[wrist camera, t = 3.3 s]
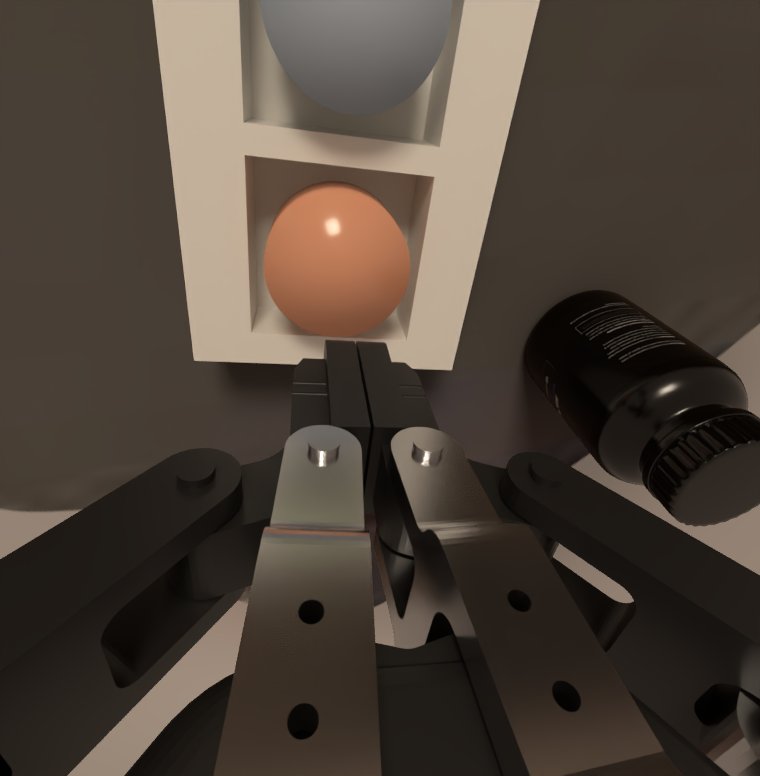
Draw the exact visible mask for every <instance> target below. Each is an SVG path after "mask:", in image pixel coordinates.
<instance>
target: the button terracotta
mask: <svg viewBox="0 0 760 776" xmlns="http://www.w3.org/2000/svg"><path fill="white" fill-rule="evenodd" d="M263 267H264V277H265V281H266V285H267V288H268V291H269V293H270V295H271V297H272V299H273V301H274V303H275V304H276V306H277V307H278V308H279V310H280V311H281V312H282V313H283V314H284V315H285V316H286V317H287V318H288V319H289V320H290V321H292V322H293V323H294V324H296V325H297V326H299V327H301V328H303V329H305V330H307V331H309V332H312V333H314V334H318V335H322V336H328V337H347V336H353V335H357V334H360V333H363V332H366V331H368V330H370V329H372V328H374V327H376V326H377V325H379V324H380V323H382V322H383V321H384V320H385V319H386V318H388V317H389V316H390V315H391V314H392V312H393V311H394V310H395V309H396V308H397V306H398V305H399V303H400V302H401V300H402V298H403V296H404V294H405V291H406V288H407V286H408V281H409V276H410V256H409V250H408V247H407V243H406V240H405V238H404V236H403V234H402V232H401V230H400V229H399V227H398V225H397V224H396V222H395V221H394V219H393V218H392V216H391V215H390V213H389V212H388V210H387V209H386V207H385V206H384V205H383V204H382V203H381V201H380V200H378V199H377V198H376V197H375V196H374V195H373V194H371V193H370V192H368V191H367V190H365V189H363V188H361V187H359V186H356V185H353V184H350V183H346V182H340V181H326V182H320V183H316V184H312V185H309V186H307V187H305V188H303V189H301V190H299V191H298V192H296V193H295V194H293V195H292V196H291V197H290V198H289V199H288V200H287V201H286V202H285V203H284V204H283V205H282V207H281V208H280V209H279V211H278V212H277V214H276V216H275V218H274V220H273V223H272V226H271V229H270V233H269V237H268V240H267V244H266V248H265V254H264V265H263Z"/></svg>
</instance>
